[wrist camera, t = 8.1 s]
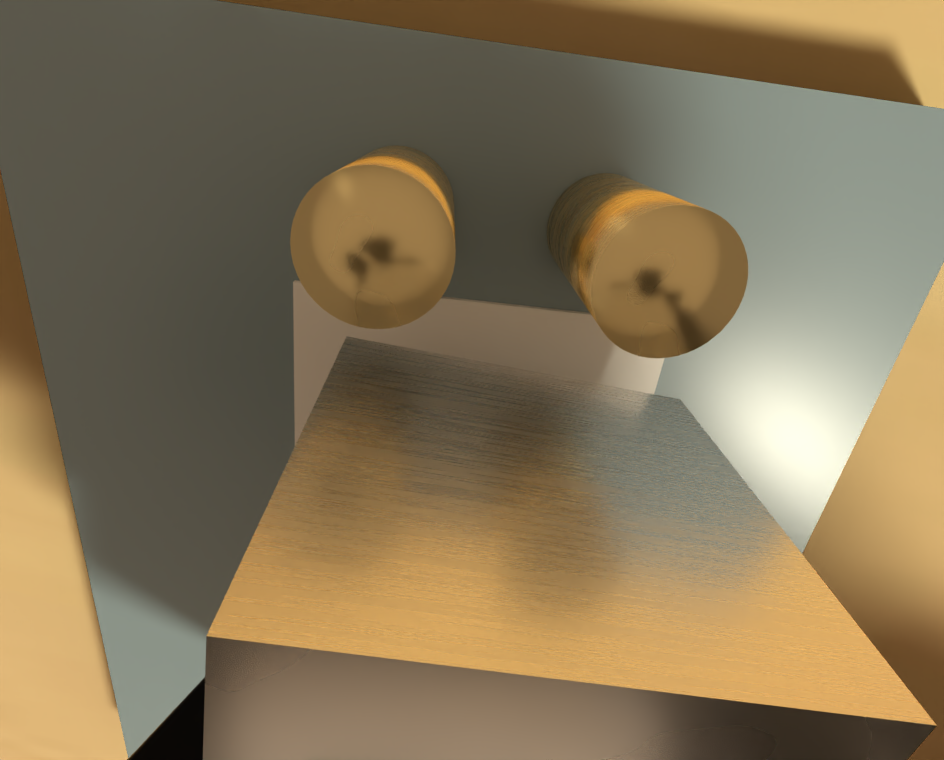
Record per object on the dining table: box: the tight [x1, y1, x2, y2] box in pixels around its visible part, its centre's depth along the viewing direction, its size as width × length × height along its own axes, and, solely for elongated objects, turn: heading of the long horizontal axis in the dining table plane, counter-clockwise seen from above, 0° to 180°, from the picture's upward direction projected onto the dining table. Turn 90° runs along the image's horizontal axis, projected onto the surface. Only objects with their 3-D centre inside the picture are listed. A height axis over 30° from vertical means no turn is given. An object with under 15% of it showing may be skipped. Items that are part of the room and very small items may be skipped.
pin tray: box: [0, 0, 944, 758], centre depth 10 cm, size 14×17×4 cm
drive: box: [203, 336, 937, 760], centre depth 8 cm, size 5×9×5 cm, turn 168°
